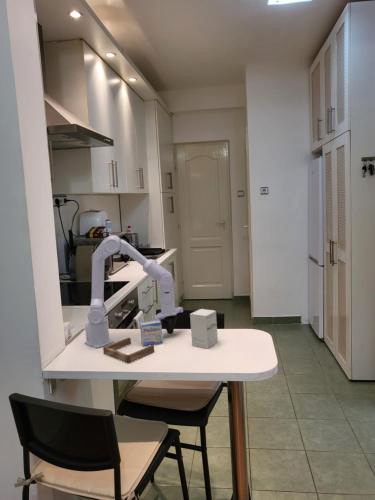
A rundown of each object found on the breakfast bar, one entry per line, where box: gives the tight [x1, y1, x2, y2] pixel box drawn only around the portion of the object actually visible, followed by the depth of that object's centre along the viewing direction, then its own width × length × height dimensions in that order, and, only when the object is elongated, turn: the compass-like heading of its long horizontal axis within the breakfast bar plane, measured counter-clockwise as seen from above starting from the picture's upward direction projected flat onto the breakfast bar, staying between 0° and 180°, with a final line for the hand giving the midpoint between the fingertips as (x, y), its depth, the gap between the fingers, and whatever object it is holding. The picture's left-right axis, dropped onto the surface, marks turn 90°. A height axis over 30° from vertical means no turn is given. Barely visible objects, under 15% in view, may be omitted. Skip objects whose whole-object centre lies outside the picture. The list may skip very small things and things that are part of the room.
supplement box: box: [189, 308, 219, 349], centre depth 155 cm, size 7×7×13 cm
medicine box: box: [139, 319, 164, 347], centre depth 160 cm, size 8×4×9 cm, turn 105°
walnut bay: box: [102, 337, 155, 364], centre depth 153 cm, size 15×12×2 cm
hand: (170, 333), depth 168 cm, fingers closed
